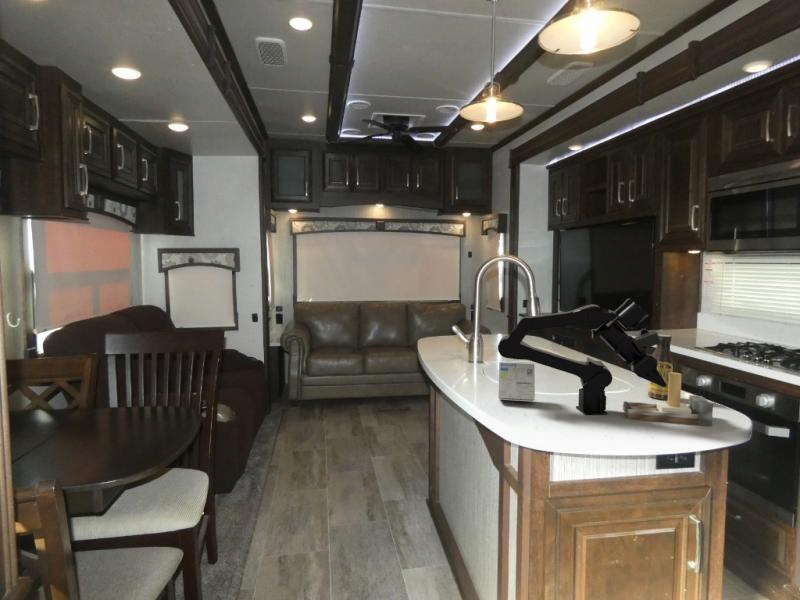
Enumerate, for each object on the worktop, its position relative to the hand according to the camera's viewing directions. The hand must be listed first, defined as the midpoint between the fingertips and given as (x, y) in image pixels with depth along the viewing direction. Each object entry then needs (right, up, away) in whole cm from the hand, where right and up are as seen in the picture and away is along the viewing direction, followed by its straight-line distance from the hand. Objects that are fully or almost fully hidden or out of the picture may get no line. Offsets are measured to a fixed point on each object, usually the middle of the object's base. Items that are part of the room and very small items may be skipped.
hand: (661, 381), depth 134 cm
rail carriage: (+3, -8, 0) cm, 9 cm away
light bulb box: (-37, -8, +13) cm, 40 cm away
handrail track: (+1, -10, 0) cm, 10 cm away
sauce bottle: (+10, -8, +20) cm, 24 cm away
